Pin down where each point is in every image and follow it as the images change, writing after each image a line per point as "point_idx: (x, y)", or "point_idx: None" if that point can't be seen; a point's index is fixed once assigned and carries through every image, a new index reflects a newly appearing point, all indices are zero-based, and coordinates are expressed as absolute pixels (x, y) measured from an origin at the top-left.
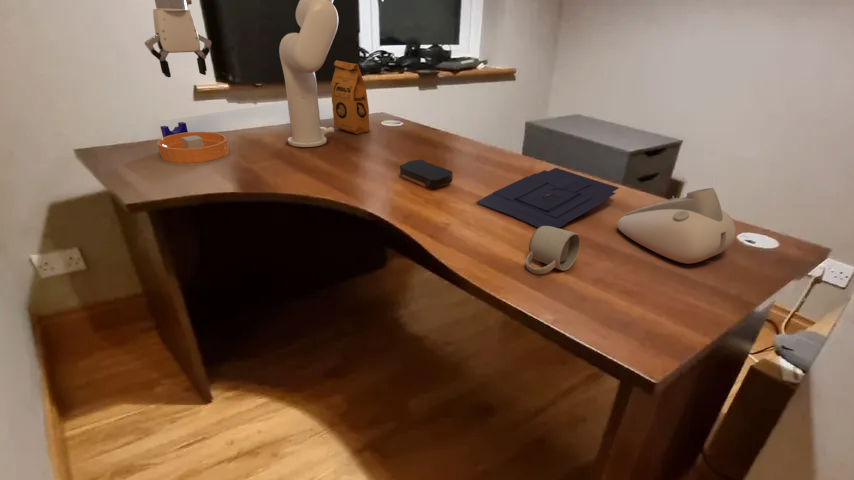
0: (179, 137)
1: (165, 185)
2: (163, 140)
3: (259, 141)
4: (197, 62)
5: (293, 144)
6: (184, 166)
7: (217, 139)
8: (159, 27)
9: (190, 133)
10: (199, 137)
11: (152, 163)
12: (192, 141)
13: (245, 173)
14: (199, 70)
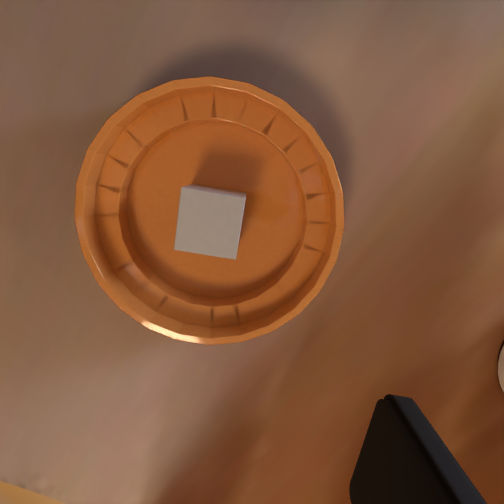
0: (221, 90)
1: (11, 398)
2: (134, 112)
3: (480, 226)
4: (442, 497)
5: (500, 367)
6: None
7: (330, 202)
8: None
9: (269, 105)
10: (234, 240)
11: (62, 190)
12: (193, 251)
13: (218, 458)
14: (388, 428)
